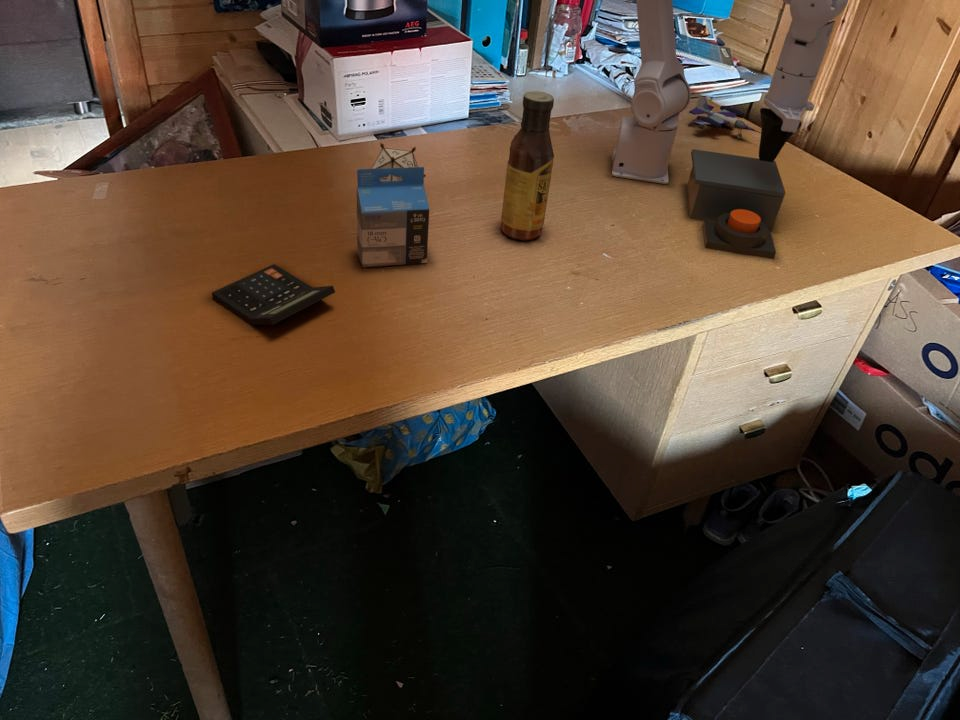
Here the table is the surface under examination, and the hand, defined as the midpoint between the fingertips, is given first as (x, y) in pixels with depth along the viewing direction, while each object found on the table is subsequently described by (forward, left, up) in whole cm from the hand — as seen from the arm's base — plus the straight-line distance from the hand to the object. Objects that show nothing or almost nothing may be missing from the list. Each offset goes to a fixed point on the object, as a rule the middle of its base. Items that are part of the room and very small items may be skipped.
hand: (765, 159), depth 116 cm
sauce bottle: (-35, -18, -9) cm, 40 cm away
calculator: (-62, -45, -9) cm, 77 cm away
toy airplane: (-2, +33, -9) cm, 34 cm away
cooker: (-3, 0, -9) cm, 9 cm away
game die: (-55, -14, -9) cm, 57 cm away
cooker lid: (-4, 0, -3) cm, 5 cm away
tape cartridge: (-51, -31, -9) cm, 60 cm away
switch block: (-3, -11, -9) cm, 14 cm away
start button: (-3, -11, -6) cm, 13 cm away
